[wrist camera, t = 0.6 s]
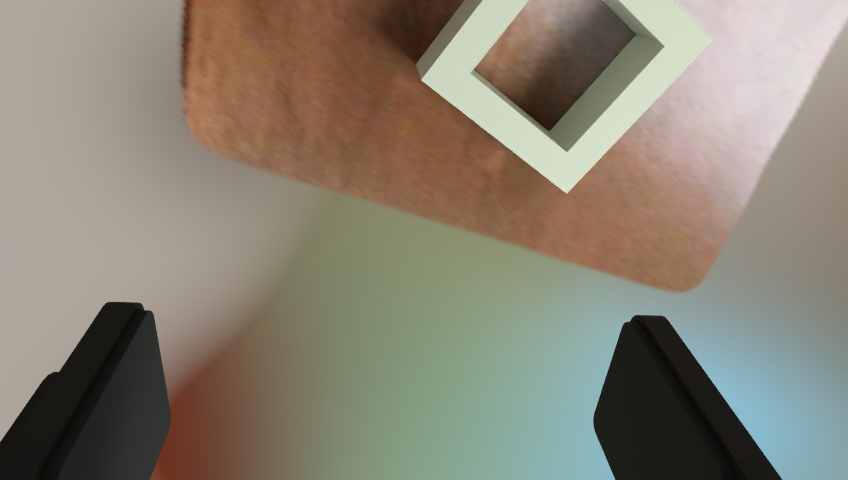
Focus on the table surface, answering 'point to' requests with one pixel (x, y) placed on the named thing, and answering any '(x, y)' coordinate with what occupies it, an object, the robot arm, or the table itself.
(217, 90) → the table surface
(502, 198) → the table surface
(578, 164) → the pale green square frame
